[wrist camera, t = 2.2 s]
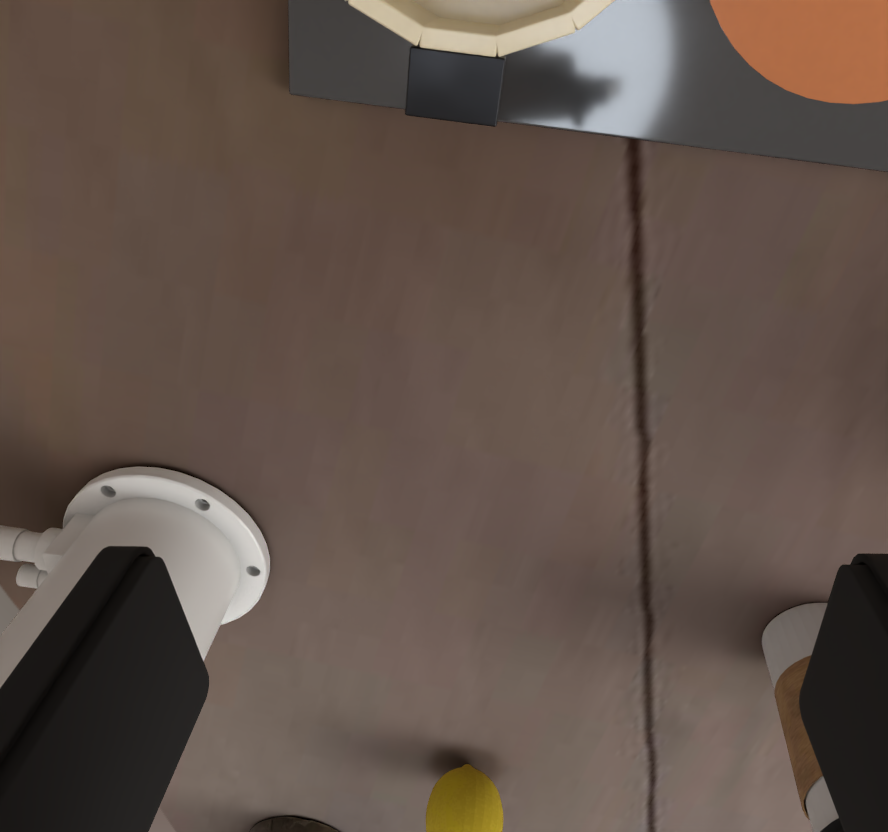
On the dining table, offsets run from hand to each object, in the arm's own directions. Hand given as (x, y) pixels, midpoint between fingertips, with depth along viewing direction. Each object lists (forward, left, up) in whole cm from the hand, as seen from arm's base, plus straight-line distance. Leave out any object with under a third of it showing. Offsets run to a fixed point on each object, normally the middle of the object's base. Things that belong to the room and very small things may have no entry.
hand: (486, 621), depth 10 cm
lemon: (+4, -43, -24) cm, 50 cm away
